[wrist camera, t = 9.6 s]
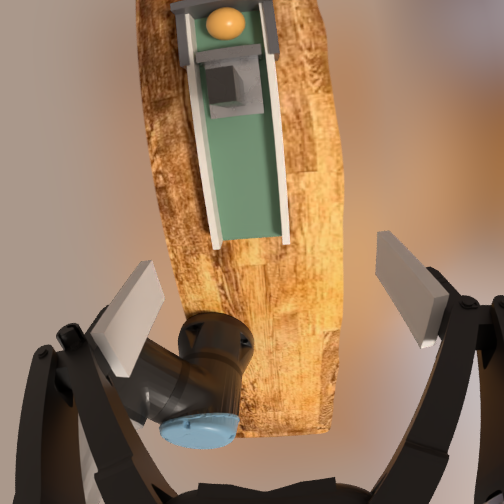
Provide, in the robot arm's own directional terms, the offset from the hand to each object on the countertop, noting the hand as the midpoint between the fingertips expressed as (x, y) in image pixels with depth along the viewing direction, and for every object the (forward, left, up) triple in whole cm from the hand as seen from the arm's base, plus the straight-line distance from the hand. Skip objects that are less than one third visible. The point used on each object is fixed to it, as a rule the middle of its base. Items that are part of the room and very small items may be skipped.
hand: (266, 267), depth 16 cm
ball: (+19, +11, -23) cm, 32 cm away
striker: (+11, +8, -26) cm, 29 cm away
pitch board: (+7, +6, -27) cm, 29 cm away
